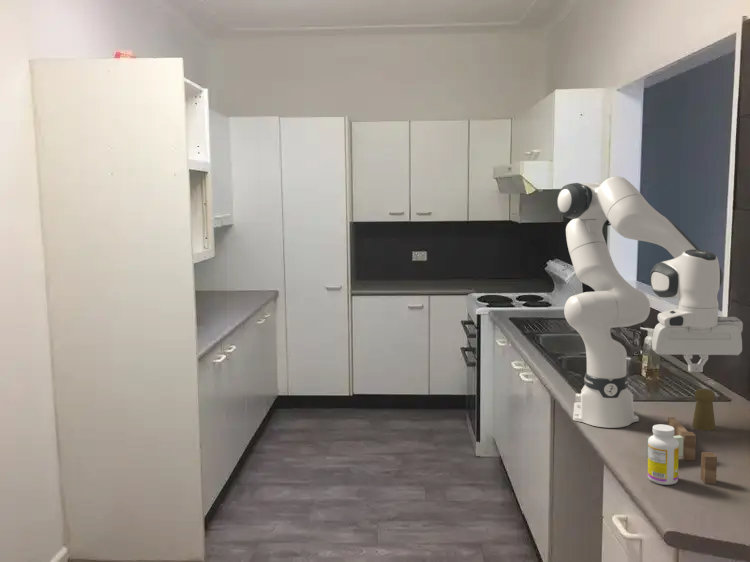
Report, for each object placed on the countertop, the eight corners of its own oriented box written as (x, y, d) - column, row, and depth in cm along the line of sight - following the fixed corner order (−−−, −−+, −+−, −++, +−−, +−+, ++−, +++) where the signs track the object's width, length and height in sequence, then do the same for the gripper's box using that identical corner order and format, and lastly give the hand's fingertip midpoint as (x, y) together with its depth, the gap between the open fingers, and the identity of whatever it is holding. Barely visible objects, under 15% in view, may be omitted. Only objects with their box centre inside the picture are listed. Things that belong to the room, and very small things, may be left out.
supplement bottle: (669, 473, 160) (671, 422, 158) (683, 485, 153) (684, 431, 152) (642, 474, 160) (643, 423, 158) (654, 486, 153) (656, 433, 152)
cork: (695, 421, 194) (696, 385, 192) (717, 425, 190) (719, 388, 189) (689, 427, 189) (690, 390, 188) (712, 432, 185) (714, 394, 184)
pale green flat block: (678, 453, 169) (679, 433, 168) (683, 456, 167) (683, 435, 166) (646, 457, 167) (646, 436, 167) (650, 460, 165) (651, 439, 165)
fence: (665, 438, 182) (666, 415, 181) (675, 438, 182) (675, 415, 181) (704, 483, 154) (705, 456, 153) (716, 483, 154) (716, 456, 153)
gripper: (737, 314, 164) (734, 368, 166) (651, 314, 167) (649, 367, 169) (748, 319, 158) (745, 375, 160) (658, 319, 160) (656, 374, 163)
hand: (695, 371), depth 164 cm, fingers closed
